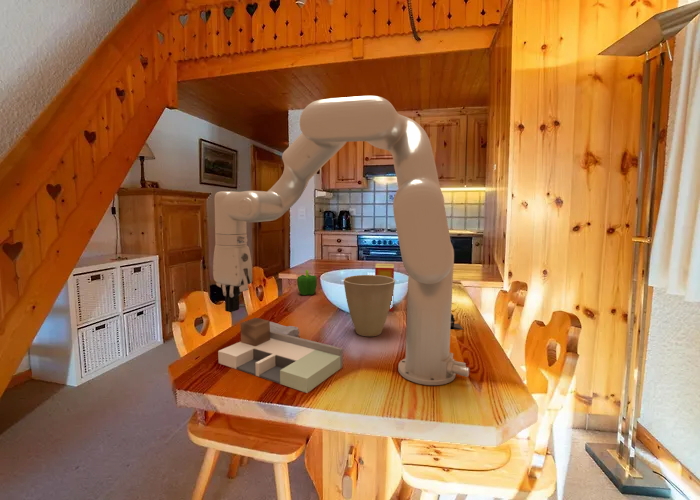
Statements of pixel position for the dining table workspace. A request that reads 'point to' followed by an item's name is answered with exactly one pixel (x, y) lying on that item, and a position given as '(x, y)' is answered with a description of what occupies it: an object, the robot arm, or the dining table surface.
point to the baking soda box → (385, 272)
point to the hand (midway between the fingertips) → (232, 310)
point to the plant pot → (369, 302)
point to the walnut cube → (255, 331)
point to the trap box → (285, 360)
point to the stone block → (284, 329)
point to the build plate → (455, 326)
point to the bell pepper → (307, 284)
